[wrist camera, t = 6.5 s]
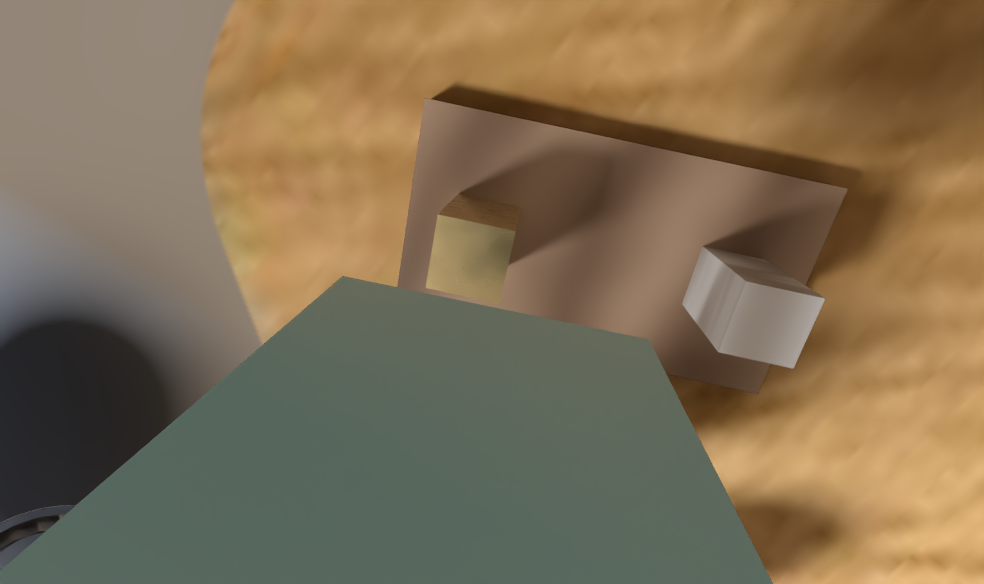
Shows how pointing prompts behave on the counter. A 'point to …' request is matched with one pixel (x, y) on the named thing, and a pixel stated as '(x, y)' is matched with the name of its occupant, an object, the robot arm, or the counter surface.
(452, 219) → the brass post
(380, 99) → the counter surface
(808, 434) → the counter surface
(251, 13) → the counter surface
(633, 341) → the pale aqua cube
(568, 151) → the post board
